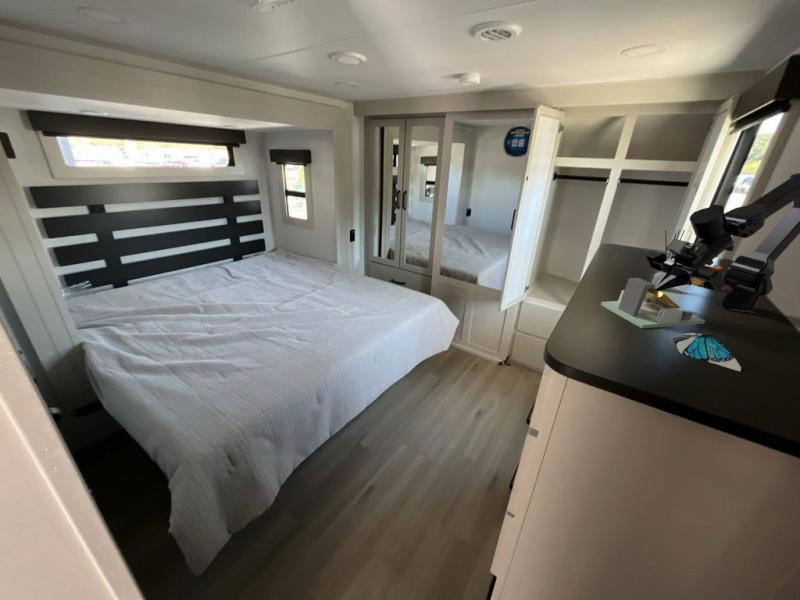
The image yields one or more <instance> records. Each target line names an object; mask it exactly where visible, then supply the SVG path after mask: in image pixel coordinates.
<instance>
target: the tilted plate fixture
mask: <svg viewBox="0 0 800 600" xmlns="http://www.w3.org/2000/svg"><path fill="white" fill-rule="evenodd" d="M654 287H655V284H652V282H649V281H647V280H645V279H643V278H640V277H634V278H633V277H630V278H629V277H628V280H627V282H626V286H625V289H623V290H621V292H620V295H619V297H618V300H614V301H613V300H612V301H601V303H600V306H602V307H604V308H605V309H607V310H608V311H611V312H613V313H614V314H615V315H617V316H619V317H620V318H623V319H625V320H627V321H628V322H630V323H631V324H633V325H635V326H636V327H638V326H639V327H638V328H640V329H650V328H653V329H654V328H664V327H676V326H677V327H680V326H691V325H700V324H701V325H704V323H705V321H706V320H705V319H703V318H700V317H697V315H694V312H693V311H689V310H688V311H685V309H684V308H682V307H680V308H664V307H662V306H660V305H658V304H655V303H653V302H651V301H649V299H647V298H646V297H645V296H646V293H647V291H648V289H650V288H652V289H653V288H654ZM681 308H682V309H681ZM684 311H685V312H684ZM683 312H684V314H683ZM682 314H683V316H682Z"/></svg>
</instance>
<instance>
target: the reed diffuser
mask: <svg viewBox="0 0 800 600" xmlns="http://www.w3.org/2000/svg"><path fill="white" fill-rule="evenodd" d="M685 231H686V230H685V229H684V230H683V231H682V234H681V235H680V232H681V231H680V230H679V229H678V232H675V233H674V236H673V239H678V238H679V235H680V239H679V240H682V238H683V236H684V233H685ZM664 232H665V233H664V234H665V237H664V239H665V242H664V243H665V255H666V257H667V259H671V260H674V259H673V258H672V257H671V255H672V254H673V253H672V252H670V251H669V254H667V250H666V248H667V247H668V245H667V244H668V243H667V241H668V240H667V229H665V231H664ZM676 235H677V236H676ZM667 255H668V256H667ZM661 272H662V271H658V272H656V273H655V274H654V275H653V277H652V281H651V283H652V284H656V282H657V280H658V279H659V277H660V275H661Z"/></svg>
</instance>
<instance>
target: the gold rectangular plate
mask: <svg viewBox="0 0 800 600" xmlns="http://www.w3.org/2000/svg"><path fill="white" fill-rule="evenodd" d="M645 297H646V298H647V299H649V301H651V302H653V303H655V304H658V305H660V306H662V307H664V308H681V309H683V308H682V307H680V306H679V305H678V304H677V303H676V302H674V301H673V300H672V299H671V298H670V297H668V295H666V294H665V293H663V292H662V291H657V290H655V289H653V288H650V289H648V291H647V293H646V296H645ZM684 312H686V311H685V310H684ZM684 312H683V314H684ZM683 314H682V316H683Z"/></svg>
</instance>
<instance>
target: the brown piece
mask: <svg viewBox="0 0 800 600" xmlns="http://www.w3.org/2000/svg"><path fill="white" fill-rule="evenodd" d="M705 266H707V267H710V268H713V269H716V270H720V271H721V273H722V272H723V269H724V268H723V267H722V266H720V265H716V264H715V265H713V266H712V265H710V266H709V265H705ZM722 277H723V280H724V278H725V276H722ZM705 282H706V281H704V280H702V279H699V278H698V279H695V280H694V281H692V285H691V286H695V287H699V288H702V287H703V289H706V288H705V287H704V283H705ZM727 288H728V285H724V286H723V287H722V288H721V289H720V290H724V289H727Z"/></svg>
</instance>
